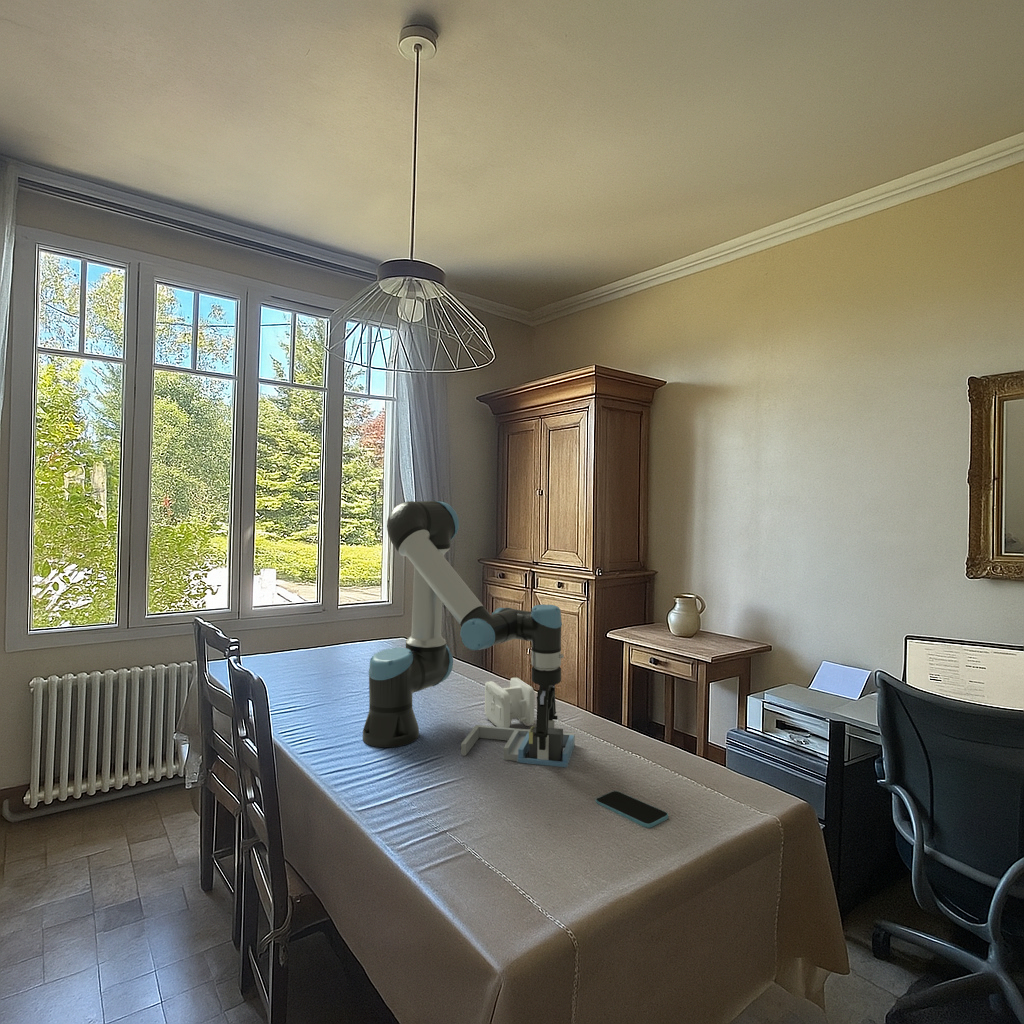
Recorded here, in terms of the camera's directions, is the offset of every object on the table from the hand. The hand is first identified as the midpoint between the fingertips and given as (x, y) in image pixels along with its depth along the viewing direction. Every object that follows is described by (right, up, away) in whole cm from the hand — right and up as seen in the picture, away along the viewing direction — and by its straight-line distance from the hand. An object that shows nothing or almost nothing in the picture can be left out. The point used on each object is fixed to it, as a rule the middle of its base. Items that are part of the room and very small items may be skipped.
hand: (546, 752), depth 166 cm
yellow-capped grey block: (0, -1, -1) cm, 1 cm away
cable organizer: (-10, 0, +23) cm, 25 cm away
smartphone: (+17, -2, -28) cm, 33 cm away
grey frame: (-7, 0, +3) cm, 8 cm away
